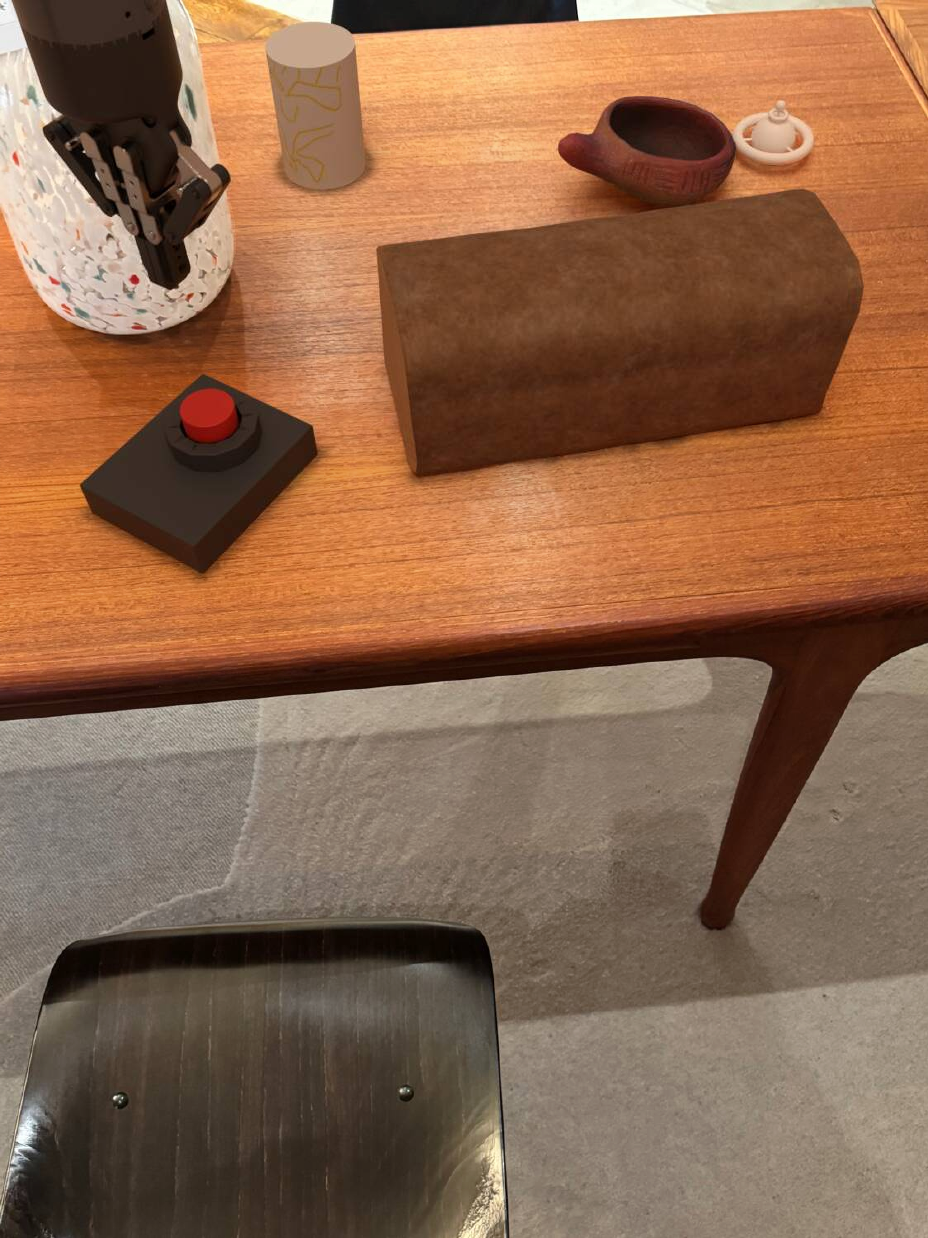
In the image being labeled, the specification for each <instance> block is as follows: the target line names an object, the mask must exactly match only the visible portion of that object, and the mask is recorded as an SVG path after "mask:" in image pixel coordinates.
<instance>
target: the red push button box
mask: <svg viewBox="0 0 928 1238" xmlns="http://www.w3.org/2000/svg"><path fill="white" fill-rule="evenodd" d="M203 389H218V390H221V391H224V392H226V393H227V394H229V395H230V396H231V398H232V399H233V401H234V405H235V409H236V413H237V417H238V425H237V428H236V430H235V431H234V433H233V434H232V435H230V436H229V437H228V438H226V439H224V440H222V441H219V442H215V443H201V442H197V441H195V440H193V439H191V438H190V437H189V436H188V435H187V433H186V431H185V429H184V425H183V422H182V419H181V416H180V407H181V404H182V402H183V401H184V400H185V399H186V398H187V397H188V396H189V395H191V394H192V393H194V392H197V391H199V390H203ZM316 442H317V441H316V436H315V430H314V425H313V424H311V423H308V422H307V421H304V420H302V419H300V418H298V417H295V416H293V415H291V414H290V413H287V412H285V411H284V410H282V409H279V408H277V407H275V406H273V405H270V404H269V403H266V402H264V401H262V400H260V399H258V398H255V397H253V396H252V395H250V394H247V393H245V392H243V391H241V390H238V389H236V388H235V387H232V386H231V385H228V384H226V383H224V382H222V381H220V380H218V379H216V378H213V377H212V376H210V375H207V374H206V373H201V374H200V375H199V376H198V377H197V378H196V379H195V380H194V381H192V383H191V384H189V385H188V386H187V387H186V388H184V390H183V391H182V392H180V393H179V394H178V395H177V396H176V397H175V398H174V399H173V400H171V401H170V402H169V403H168V404H167V405H166V406H164V408H163V409H162V410H160V411H159V412H158V413H157V414H156V415H155V416H154V417H153V418H151V420H149V421H148V422H147V423H146V424H145V425H144V426H143V427H141V429H140V430H138V431H137V432H136V433H135V434H134V435H133V436H131V438H129V439H128V440H127V441H126V442H125V443H124V444H123V445H122V446H120V447H119V448H118V450H116V451H115V452H114V453H113V454H112V455H110V457H109V458H107V459H106V460H105V461H103V463H102V464H101V465H100V466H99V467H97V468H96V469H95V470H94V471H93V472H92V473H90V475H88V476H87V477H86V478H85V479H84V480H83V481H81V482H80V484H79V488H80V490H81V492H82V494H83V496H84V499H85V501H86V503H87V505H88V508H89V509H90V511H91V513H92V514H93V515H95V516H97V517H99V518H101V519H103V520H104V521H106V522H108V523H110V524H112V525H113V526H115V527H117V528H119V529H121V530H122V531H124V532H126V533H128V534H130V535H131V536H133V537H135V538H137V539H139V540H141V541H143V542H144V543H146V544H148V545H149V546H152V547H153V548H155V549H157V550H158V551H160V552H162V553H164V554H166V555H167V556H169V557H172V558H173V559H175V560H177V561H179V562H181V563H182V564H184V565H186V566H188V567H190V568H191V569H193V570H195V571H197V572H199V574H205V573H206V571H207V570H208V569H209V568H210V567H211V566H212V565H213V564H214V563H215V562H216V561H217V560H218V559H219V558H220V557H221V555H223V554H224V553H225V552H226V550H227V549H229V547H230V546H231V545H232V544H233V543H234V542H235V541H236V540H237V539H238V538H239V537H240V536H241V535H242V534H243V533H244V532H245V531H246V530H247V529H248V527H249V526H250V525H251V524H253V522H254V521H256V519H257V518H258V517H259V516H260V515H261V514H262V513H263V512H264V511H266V509H267V508H268V507H269V506H270V505H271V504H272V503H273V501H274V500H275V499H277V497H278V496H279V495H280V494H282V492H283V491H284V490H285V489H286V488H287V487H288V486H289V485H290V484H291V483H292V482H293V481H294V480H295V479H296V478H297V477H298V476H299V475H300V474H301V472H302V471H303V470H304V469H305V468H306V467H307V466H308V465H309V464H310V463H311V462H312V461H313V460H314V459H315V458H316V457H317V456H318V454H319V453H318V448H317V443H316Z"/></svg>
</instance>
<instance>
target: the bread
mask: <svg viewBox="0 0 928 1238" xmlns="http://www.w3.org/2000/svg"><path fill="white" fill-rule="evenodd" d="M827 209H828V208H826V206H825V205H824V203H823V202H822V201H821V200H820V198H819V196H818V195H817V194H816V192H813V191H811V190H810V189H809V190H808V189H806V188H796V189H793V188H792V189H788V190H787V189H786V190H781V191H776V192H770V193H763V194H757V195H750V196H743V197H742V196H741V197H735V198H734V197H733V198H728V199H721V200H714V201H707V202H701V203H695V204H688V205H684V206H678V207H665V208H658V209H651V210H646V211H641V212H635V213H629V214H623V215H614V216H602V217H592V218H585V219H579V220H573V221H566V222H565V221H564V222H560V223H553V224H546V225H541V226H540V225H539V226H534V227H525V228H516V229H505V230H504V229H503V230H496V231H486V232H478V233H468V234H462V235H454V236H449V237H442V238H433V239H424V240H416V241H415V240H414V241H406V242H397V243H389V244H384V245H378V246H377V247H376V248H375V253H376V263H377V265H376V266H377V274H378V275H377V276H378V290H379V291H378V292H379V304H380V305H379V306H380V317H381V318H380V319H381V332H382V333H381V334H382V348H383V357H384V358H383V359H384V366H385V371H386V374H387V379H388V383H389V387H390V391H391V395H392V399H393V403H394V408H395V412H396V416H397V420H398V424H399V428H400V433H401V437H402V442H403V446H404V450H405V455H406V459H407V463H408V465H409V467H410V468H411V469H412V470H413V472H414V473H415V474H416V475H417V476H418V477H422V476H430V475H437V474H446V473H452V472H453V473H454V472H458V471H465V470H467V471H468V470H472V469H473V470H474V469H477V468H478V469H479V468H484V467H490V466H495V465H496V466H497V465H502V464H509V463H513V462H514V463H515V462H519V461H527V460H531V459H540V458H548V457H555V456H563V455H568V454H574V453H581V452H587V451H594V450H599V449H604V448H610V447H614V446H615V447H616V446H621V445H628V444H636V443H643V442H650V441H659V440H663V439H670V438H677V437H682V436H687V435H694V434H699V433H705V432H711V431H716V430H724V429H728V428H735V427H740V426H748V425H749V426H750V425H756V424H762V423H767V422H774V421H780V420H786V419H791V418H797V417H802V416H808V415H812V414H816V413H817V414H818V413H821V412H822V410H823V407H824V403H825V399H826V395H827V394H828V390H829V389H830V386H831V384H832V382H833V379H834V376H835V374H836V372H837V369H838V367H839V365H840V362H841V359H842V358H843V355H844V352H845V350H846V346H847V344H848V342H849V339H850V336H851V333H852V331H853V328H854V326H855V324H856V322H857V320H858V316H859V314H860V312H861V306H862V300H863V295H864V289H865V286H864V285H865V284H864V280H863V275H862V270H861V266H860V261H859V259H858V257H857V255H856V253H855V252H854V250H853V249H852V246H851V245H850V243H849V241H848V240H847V238H846V237H845V234H844V233H843V232H842V230H841V229H840V227H839V226H838V224H837V222H836V221H835V220H834V218H833V217H832V215H831V213H830V212H829V211H828V210H827Z"/></svg>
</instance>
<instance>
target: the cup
mask: <svg viewBox="0 0 928 1238" xmlns="http://www.w3.org/2000/svg"><path fill="white" fill-rule="evenodd" d="M264 46H265V47H264V49H265V54H266V61H267V68H268V73H269V74H268V75H269V81H270V87H271V92H272V99H273V105H274V111H275V119H276V125H277V128H278V129H277V130H278V137H279V142H280V148H281V155H282V161H283V168H284V172H285V175H286V176H287V178H288V179H289V180H290V181H291V182H292V183H294V184H296V185H297V186H299V187H302V188H305V189H309V190H317V191H327V190H334V189H335V190H336V189H339V188H343V187H346V186H348V185H350V184H352V183H354V182H355V181H357V180H358V179H359V178H360V177H361V176H362V175H363V174H364V172H365V170H366V167H367V160H366V151H365V150H366V149H365V140H364V128H363V127H364V126H363V118H362V106H361V94H360V84H359V83H360V82H359V73H358V60H357V51H356V40H355V37H354V35H353V34H352V33H351V32H350V31H349V30H348V29H346V28H344V27H343V26H341V25H337V24H335V23H329V22H324V21H305V22H299V23H294V24H290V25H287V26H283V27H282V28H280V29H278V30H276V31H275V32H274V33H272V34H271V35H270V36H269V37H268V39H267V40H266V42H265V45H264Z"/></svg>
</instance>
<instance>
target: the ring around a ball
mask: <svg viewBox="0 0 928 1238" xmlns="http://www.w3.org/2000/svg"><path fill="white" fill-rule="evenodd" d="M786 105H787V104H786V102H785V101H784V100H782V99H780V100H777V102H776V103H775V106H774V107H773V108H771V109H770V110H768V111H767V112H766V111H765V112H764V111H763V112H758V113H753V114H750V115H748V116H746V117H744V118H742V119H741V120H740V121H738V123H736V125H735V126H734V127H733V130H732V132H731V134H732V137H733V140H734V141H735V142H736V151H737V152H738V153H739V154H740V155H742V156H743V157H745V158H746V159H748V160H750V161H752V162H755V163H758V164H763V165H768V166H769V165H770V166H783V165H789V164H793V163H796V162H799V161H800V160H801V161H802V159H804V158H806V157H807V156H808V155H809V154H810V153H811V151H812V150H813V148H814V144H815V135H814V132H813V131H812V129H811V127H810V126H809V125H808V124H807V123H805V121H803V120H802V119H799V118H798V117H796V116H793V115H790V114H789V112H788V110H786ZM752 127H753V129H752V132H751V134H750V137H746V138H745V137H744V133H745V132H746V131H747V130H748V129H751V128H752ZM797 134H798V135H800V137H801V138H802V144H801V145H800V146H799V147H797V148H796V149H793V148H794V146H795V143H796V137H797V136H796V135H797ZM747 142H750V145H749V143H747Z"/></svg>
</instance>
